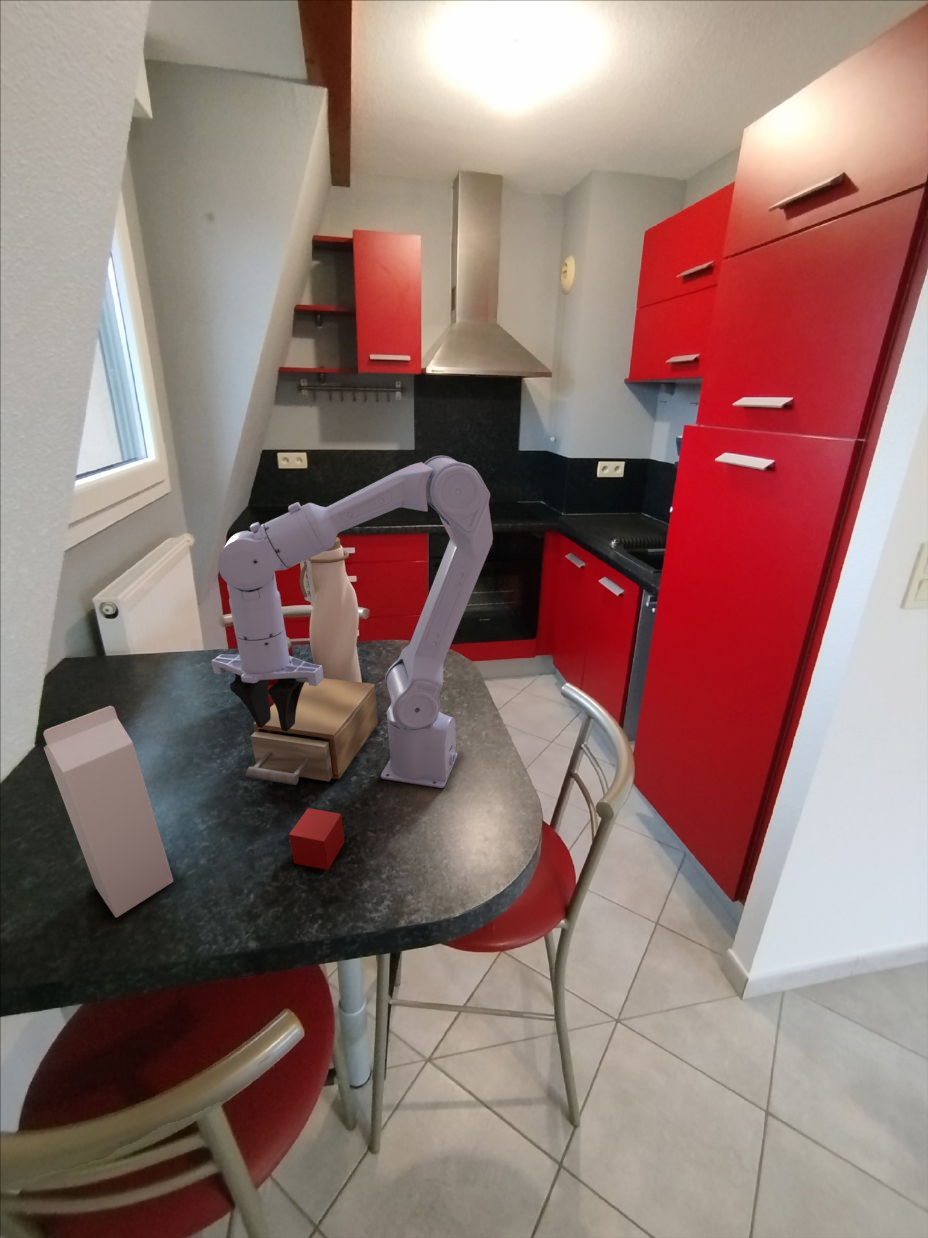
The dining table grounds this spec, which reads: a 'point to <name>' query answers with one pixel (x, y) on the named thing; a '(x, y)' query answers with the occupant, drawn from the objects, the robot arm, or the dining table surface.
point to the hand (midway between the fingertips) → (276, 725)
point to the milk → (109, 807)
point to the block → (317, 838)
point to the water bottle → (332, 614)
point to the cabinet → (333, 717)
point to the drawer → (290, 757)
